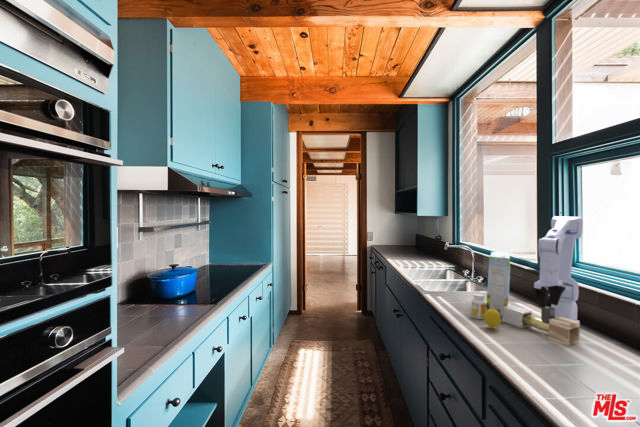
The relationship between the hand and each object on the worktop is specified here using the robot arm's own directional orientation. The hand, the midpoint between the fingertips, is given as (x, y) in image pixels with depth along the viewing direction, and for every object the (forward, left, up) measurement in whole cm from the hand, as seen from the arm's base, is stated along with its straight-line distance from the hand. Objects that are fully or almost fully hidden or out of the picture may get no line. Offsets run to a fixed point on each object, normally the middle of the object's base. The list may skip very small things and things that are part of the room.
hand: (548, 305), depth 117 cm
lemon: (+16, -11, -11) cm, 22 cm away
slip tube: (+2, -1, -9) cm, 10 cm away
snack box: (-8, -26, -11) cm, 29 cm away
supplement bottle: (+10, -22, -11) cm, 26 cm away
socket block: (+2, +6, -10) cm, 12 cm away
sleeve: (+2, -11, -10) cm, 15 cm away
